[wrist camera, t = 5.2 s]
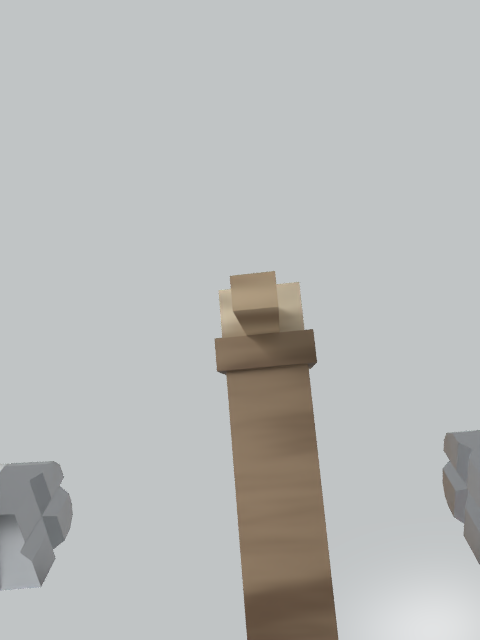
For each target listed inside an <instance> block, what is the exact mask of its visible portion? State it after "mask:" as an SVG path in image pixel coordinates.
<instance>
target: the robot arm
mask: <svg viewBox="0 0 480 640" xmlns="http://www.w3.org/2000/svg"><path fill="white" fill-rule="evenodd" d="M444 452H445V453H446V455H447V457H448V458H449V460H450V461H449V462H448V463H447V464H446V465H445V467H444V468H443V486H444V492H445V497H446V500H447V503H448V506H449V508H450V510H451V512H452V514H453V516H454V517H455V518H456V519H458V520H459V521H461V522H463V523H464V537H465V539H466V540H467V542H468V544H469V546H470V548H471V550H472V551H473V553H474V555H475V557H476V559H477V561H478V563H479V564H480V430H476V431H464V432H452V433H446V436H445V439H444ZM63 478H64V476H63V473H62V470H61V467H60V465H59V464H58V463H56V462H54V461H50V462H30V463H11V464H0V590H12V589H24V588H36V587H41V586H42V584H43V582H44V580H45V578H46V576H47V574H48V572H49V570H50V568H51V566H52V564H53V562H54V560H55V555H54V552H53V549H54V548H55V547H57V546H58V545H59V544H60V543H62V542H63V541H64V540H65V538H66V536H67V534H68V532H69V529H70V525H71V520H72V515H73V514H72V503H71V499H70V496H69V493H67V492H66V491H65V490H63V489H62V488H61V487H60V484H61V482H62V480H63Z"/></svg>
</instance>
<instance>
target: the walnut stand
mask: <svg viewBox="0 0 480 640" xmlns="http://www.w3.org/2000/svg"><path fill="white" fill-rule="evenodd" d="M215 349H216V362H217V371H218V372H220V373H223V374H225V375H227V386H228V399H229V410H230V411H229V412H230V425H231V437H232V450H233V463H234V475H235V487H236V501H237V514H238V526H239V539H240V552H241V565H242V577H243V590H244V603H245V616H246V629H247V640H338V633H337V623H336V614H335V605H334V596H333V587H332V578H331V569H330V560H329V551H328V542H327V533H326V523H325V514H324V505H323V496H322V487H321V479H320V469H319V459H318V450H317V441H316V432H315V423H314V414H313V405H312V397H311V387H310V378H309V369H311V368H312V367H313V366H314V365H315V364H316V363H317V359H316V351H315V341H314V332H313V329H310V330H299V331H289V332H279V333H268V334H258V335H247V336H237V337H227V338H216V339H215Z"/></svg>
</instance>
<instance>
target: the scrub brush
mask: <svg viewBox="0 0 480 640" xmlns="http://www.w3.org/2000/svg"><path fill="white" fill-rule="evenodd" d="M230 284H231V289H227V290H219V300H220V313H221V326H222V338H227V337H237V336H247V335H258V334H268V333H279V332H289V331H299V330H304V323H303V313H302V304H301V295H300V285H299V282H294V283H285V284H276V277H275V271H272V272H262V273H253V274H243V275H235V276H230Z"/></svg>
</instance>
